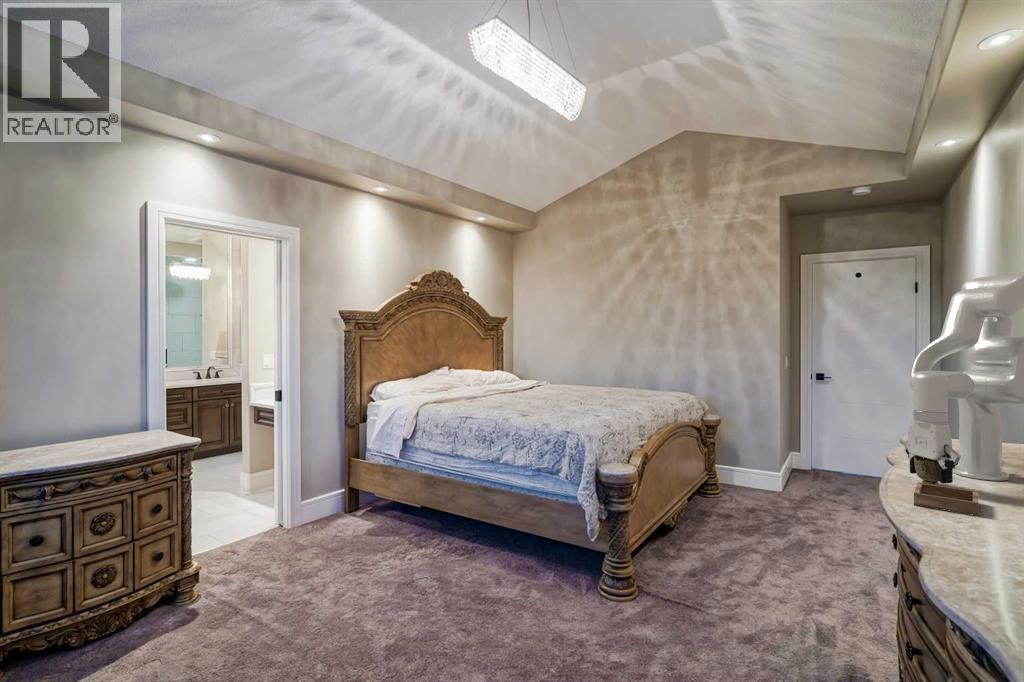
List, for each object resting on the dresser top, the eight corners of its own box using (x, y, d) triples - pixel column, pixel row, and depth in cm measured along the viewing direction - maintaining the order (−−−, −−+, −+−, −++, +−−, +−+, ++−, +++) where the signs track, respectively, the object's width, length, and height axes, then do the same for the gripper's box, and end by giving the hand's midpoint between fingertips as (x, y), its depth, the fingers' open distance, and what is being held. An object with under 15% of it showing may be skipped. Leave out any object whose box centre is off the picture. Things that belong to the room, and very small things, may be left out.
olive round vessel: (919, 488, 142) (919, 459, 142) (909, 481, 149) (909, 453, 149) (952, 491, 139) (952, 461, 139) (940, 483, 146) (940, 455, 146)
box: (917, 493, 138) (917, 482, 138) (977, 503, 130) (977, 491, 130) (913, 505, 129) (913, 493, 129) (978, 516, 121) (978, 503, 121)
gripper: (892, 412, 152) (893, 470, 153) (945, 422, 135) (945, 487, 135) (917, 412, 153) (917, 469, 153) (972, 422, 135) (972, 486, 136)
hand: (930, 477), depth 144 cm, fingers open, 9 cm apart
